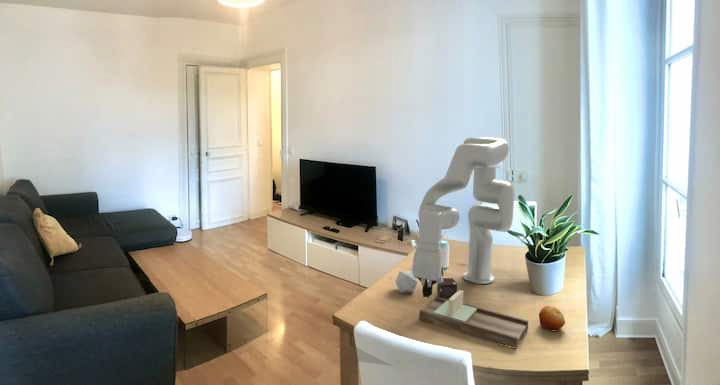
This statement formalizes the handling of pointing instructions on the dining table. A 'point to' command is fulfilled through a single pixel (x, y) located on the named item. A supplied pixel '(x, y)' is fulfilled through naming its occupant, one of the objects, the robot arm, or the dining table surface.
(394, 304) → the dining table surface
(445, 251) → the can
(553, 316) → the fruit
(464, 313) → the lid
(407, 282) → the die
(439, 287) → the box
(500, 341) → the brown wooden tray
